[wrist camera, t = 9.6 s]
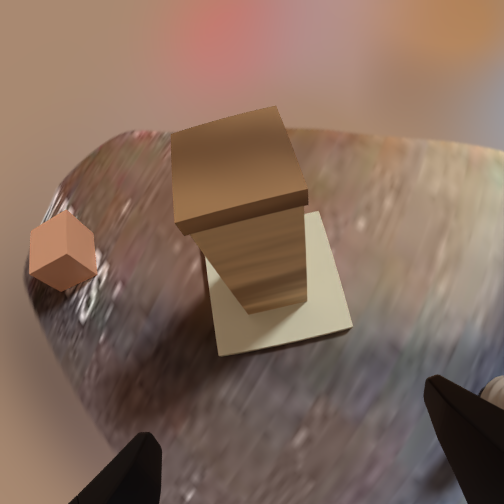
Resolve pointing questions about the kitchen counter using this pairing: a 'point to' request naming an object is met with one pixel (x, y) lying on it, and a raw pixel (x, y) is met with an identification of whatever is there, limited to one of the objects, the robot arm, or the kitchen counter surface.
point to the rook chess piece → (495, 392)
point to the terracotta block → (62, 252)
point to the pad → (288, 317)
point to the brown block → (244, 205)
